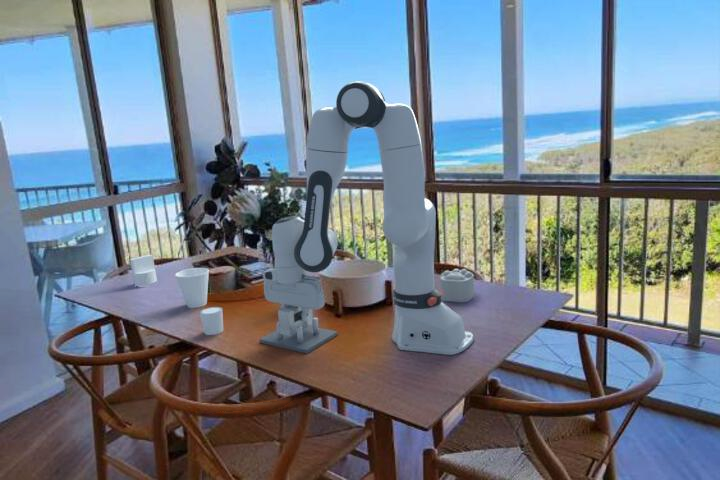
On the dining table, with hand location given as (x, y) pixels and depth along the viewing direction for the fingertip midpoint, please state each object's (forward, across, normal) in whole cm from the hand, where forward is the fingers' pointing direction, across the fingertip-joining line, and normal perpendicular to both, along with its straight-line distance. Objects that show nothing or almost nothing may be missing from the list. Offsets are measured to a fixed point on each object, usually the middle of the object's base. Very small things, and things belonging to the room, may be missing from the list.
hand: (296, 319), depth 151 cm
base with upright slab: (+7, +101, -17) cm, 102 cm away
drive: (+3, 0, 0) cm, 3 cm away
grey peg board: (+6, 0, 0) cm, 6 cm away
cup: (+7, +56, -8) cm, 57 cm away
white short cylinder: (+6, +29, +7) cm, 30 cm away
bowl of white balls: (+6, -27, -52) cm, 59 cm away
